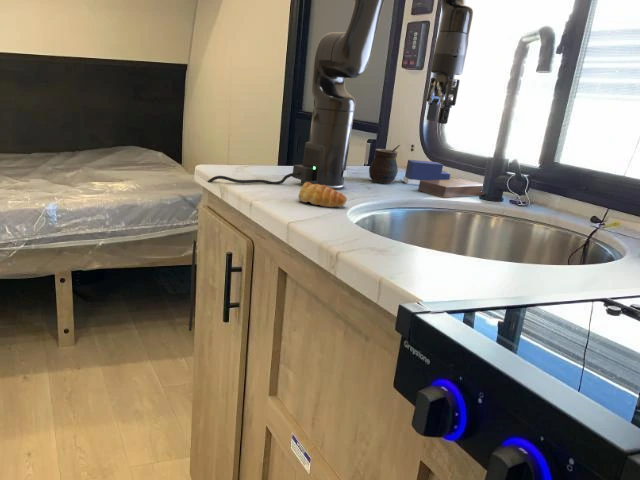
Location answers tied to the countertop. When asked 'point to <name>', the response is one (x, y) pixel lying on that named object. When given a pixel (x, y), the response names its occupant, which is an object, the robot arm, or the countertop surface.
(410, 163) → the navy stepped block
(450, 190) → the shelf board
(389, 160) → the mate gourd
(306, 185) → the pastry
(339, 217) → the countertop surface
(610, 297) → the countertop surface
